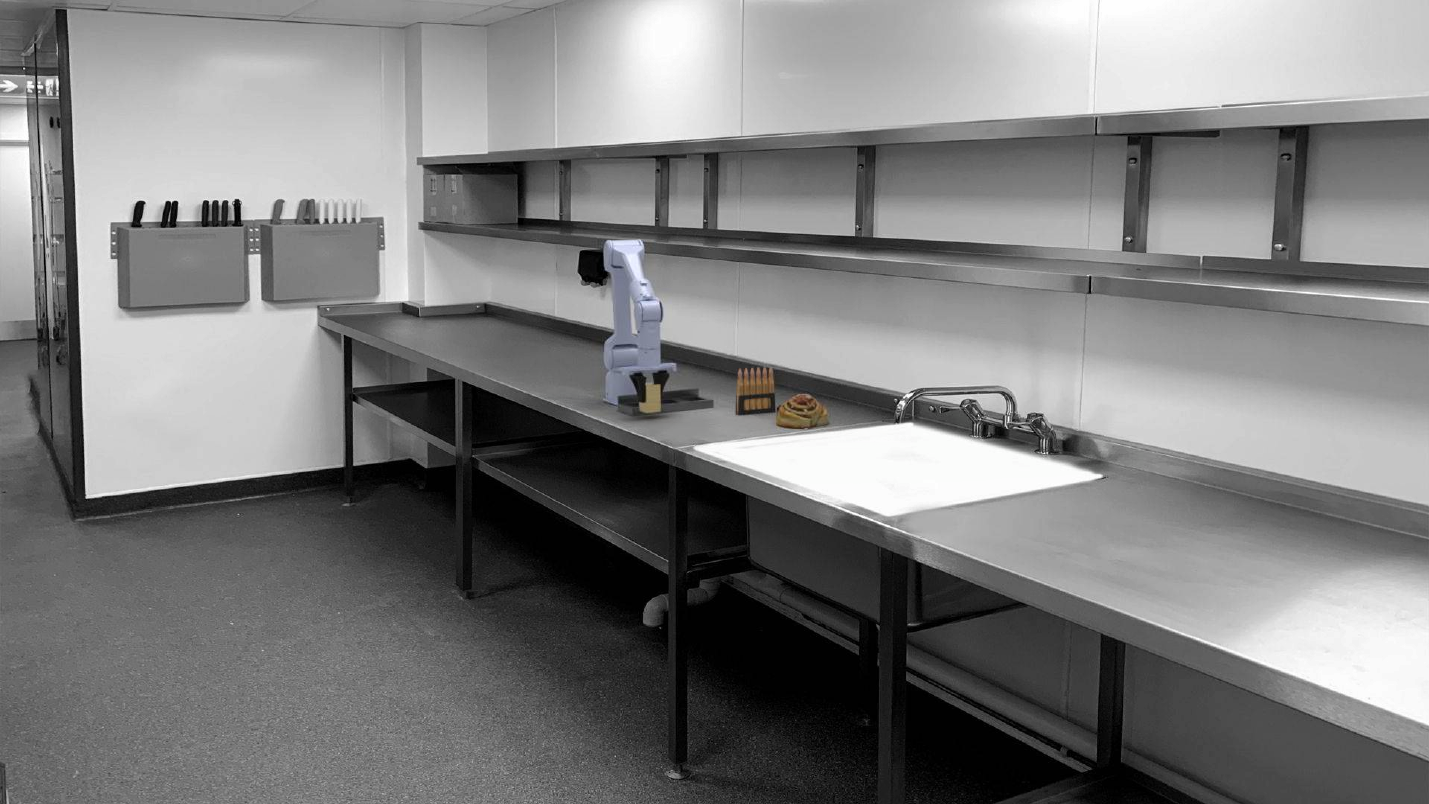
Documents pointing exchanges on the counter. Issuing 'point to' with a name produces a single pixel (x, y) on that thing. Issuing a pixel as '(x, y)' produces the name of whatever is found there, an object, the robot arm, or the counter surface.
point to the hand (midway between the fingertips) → (649, 401)
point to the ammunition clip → (755, 393)
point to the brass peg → (651, 398)
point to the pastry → (801, 413)
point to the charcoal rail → (667, 402)
